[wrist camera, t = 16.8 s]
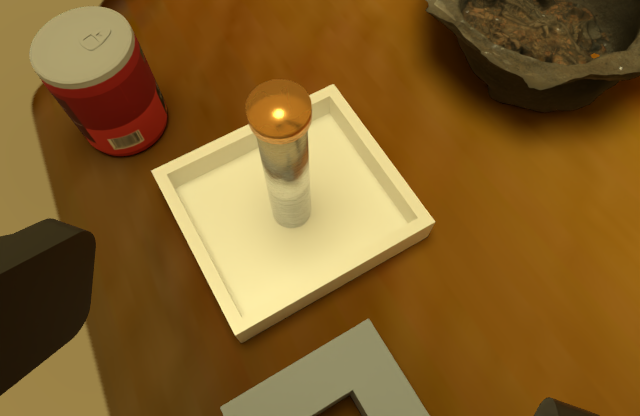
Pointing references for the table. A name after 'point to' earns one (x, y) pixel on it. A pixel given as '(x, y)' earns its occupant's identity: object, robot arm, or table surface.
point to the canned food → (101, 79)
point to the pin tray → (291, 243)
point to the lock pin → (283, 147)
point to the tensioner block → (335, 382)
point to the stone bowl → (546, 47)
